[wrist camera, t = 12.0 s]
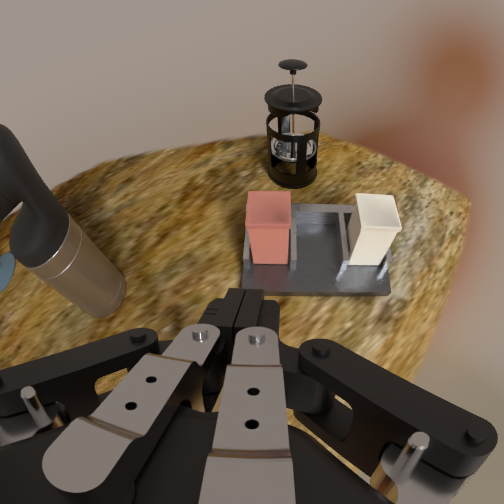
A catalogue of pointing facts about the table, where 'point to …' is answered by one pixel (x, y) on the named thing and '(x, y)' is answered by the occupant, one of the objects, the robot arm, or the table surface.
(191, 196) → the table surface
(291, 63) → the french press
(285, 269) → the dark grey tray
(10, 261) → the cocktail glass
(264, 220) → the pink boxy piece
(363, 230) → the white tall block
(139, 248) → the table surface
